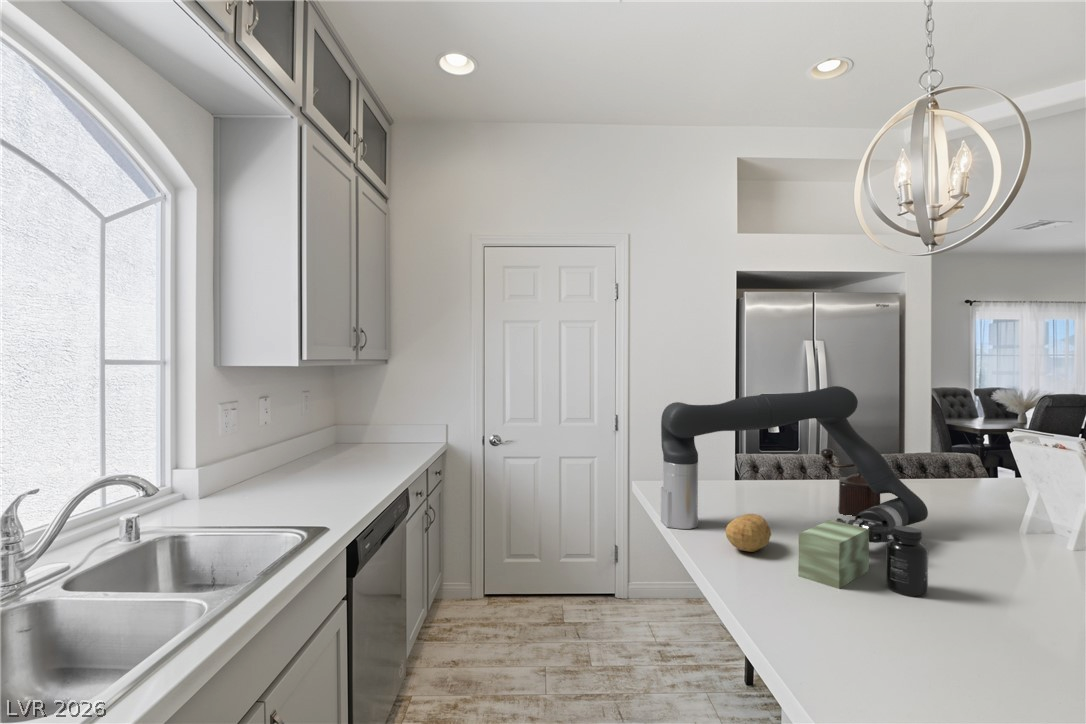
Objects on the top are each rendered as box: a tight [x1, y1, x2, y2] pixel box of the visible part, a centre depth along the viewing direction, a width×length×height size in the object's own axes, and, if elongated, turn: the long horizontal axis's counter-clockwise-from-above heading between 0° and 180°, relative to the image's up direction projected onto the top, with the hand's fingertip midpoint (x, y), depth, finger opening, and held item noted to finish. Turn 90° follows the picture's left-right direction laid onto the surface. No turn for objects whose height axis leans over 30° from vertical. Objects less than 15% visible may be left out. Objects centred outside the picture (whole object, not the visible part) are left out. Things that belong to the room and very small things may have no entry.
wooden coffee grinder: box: [819, 447, 881, 517], centre depth 162 cm, size 16×11×18 cm
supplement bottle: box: [885, 526, 929, 597], centre depth 106 cm, size 7×7×12 cm
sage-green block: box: [797, 520, 870, 590], centre depth 114 cm, size 15×8×9 cm, turn 129°
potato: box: [725, 513, 772, 553], centre depth 129 cm, size 10×14×8 cm
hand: (849, 537), depth 119 cm, fingers closed
